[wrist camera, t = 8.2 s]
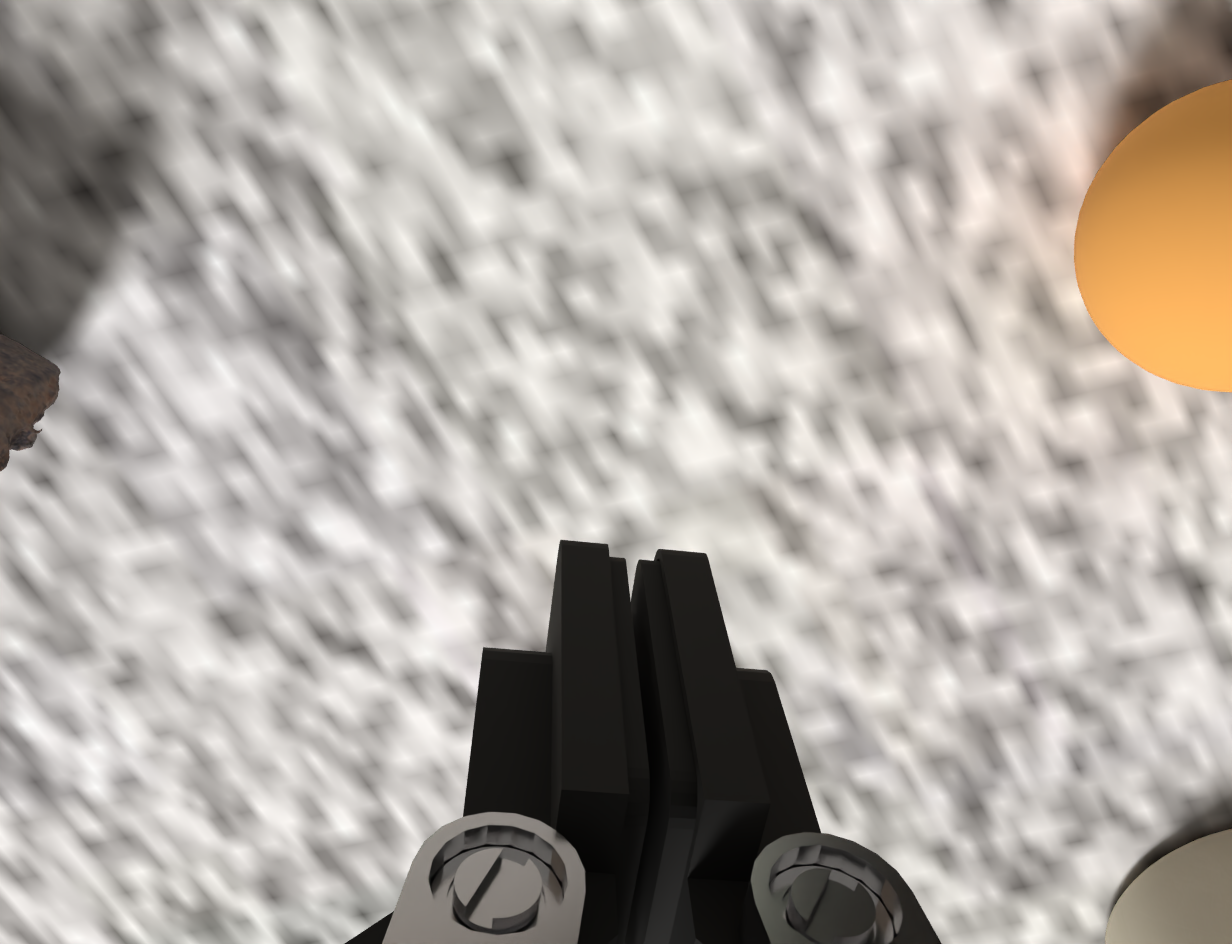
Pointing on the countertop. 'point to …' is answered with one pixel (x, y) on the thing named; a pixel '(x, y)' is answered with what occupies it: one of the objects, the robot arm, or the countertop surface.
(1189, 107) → the ball
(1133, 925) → the travel mug
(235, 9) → the countertop surface
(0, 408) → the perforated stone tool
